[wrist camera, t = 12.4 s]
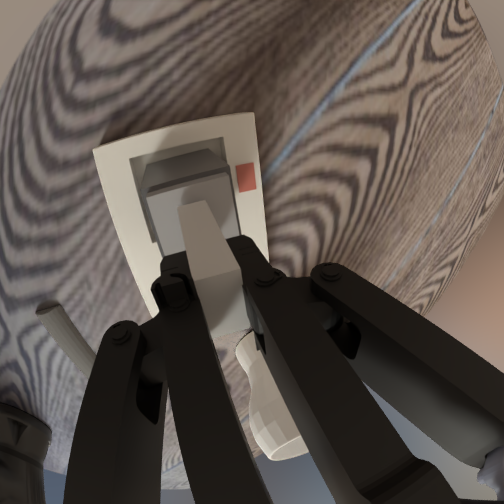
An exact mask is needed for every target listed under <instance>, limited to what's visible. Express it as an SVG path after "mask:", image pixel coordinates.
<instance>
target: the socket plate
mask: <svg viewBox="0 0 504 504" xmlns="http://www.w3.org/2000/svg"><path fill="white" fill-rule="evenodd" d="M206 148H209V149H210V150H211V151H212V152H214V153H215V154H216V155H217V156H218V157H220V158H221V159H222V160H223V161H225V162H226V163H227V164H228V165H230V170H231V176H232V182H233V187H234V193H235V199H236V205H237V211H238V216H239V222H240V228H241V233H242V235H243V234H244V235H246V236H248V237H250V238H252V239H253V241H254V242H255V244H256V246H257V247H258V248H259V249H260V251H261V252H262V254H263V255H264V257H265V258H266V259H267V261H268V262H269V256H268V245H267V234H266V223H265V213H264V203H263V193H262V183H261V173H260V164H259V154H258V145H257V136H256V127H255V118H254V112H241V113H234V114H227V115H221V116H215V117H209V118H203V119H198V120H193V121H188V122H183V123H178V124H174V125H169V126H165V127H161V128H157V129H153V130H149V131H145V132H142V133H138V134H135V135H131V136H128V137H124V138H121V139H118V140H115V141H112V142H109V143H106V144H103V145H100V146H98V147H96V148H94V149H93V154H94V158H95V162H96V166H97V170H98V174H99V177H100V181H101V184H102V188H103V191H104V195H105V198H106V201H107V204H108V207H109V211H110V214H111V217H112V220H113V223H114V225H115V228H116V231H117V234H118V237H119V240H120V242H121V245H122V248H123V250H124V253H125V256H126V258H127V261H128V263H129V266H130V268H131V271H132V273H133V276H134V278H135V280H136V283H137V285H138V287H139V290H140V292H141V294H142V296H143V299H144V301H145V303H146V305H147V307H148V310H149V312H150V314H151V316H152V318H154V317H155V316H156V315H157V314H158V312H159V309H158V306H157V304H156V302H155V299H154V297H153V295H152V292H151V290H150V289H151V285H152V283H153V282H154V281H155V280H156V279H157V278H158V277H160V276H161V274H160V273H161V272H160V263H161V261H162V256H161V253H160V250H159V247H158V244H157V242H156V239H155V236H154V233H153V230H152V227H151V224H150V221H149V217H148V214H147V211H146V208H145V205H144V201H143V198H142V195H141V191H140V188H141V184H142V180H143V176H144V172H145V168H146V164H150V163H153V162H157V161H160V160H163V159H167V158H171V157H174V156H178V155H182V154H186V153H190V152H194V151H198V150H202V149H206Z"/></svg>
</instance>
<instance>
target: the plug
mask: <svg viewBox="0 0 504 504" xmlns="http://www.w3.org/2000/svg"><path fill="white" fill-rule="evenodd" d="M140 191H141V195H142V198H143V201H144V205H145V208H146V211H147V214H148V217H149V221H150V224H151V227H152V230H153V233H154V236H155V239H156V242H157V244H158V247H159V250H160V253H161V256H162V259H163V257H164V256H167V255H170V254H174V253H178V252H182V251H185V250H186V249H185V244H184V239H183V235H182V230H181V225H180V220H179V215H178V209H177V207H179V206H182V205H186V204H190V203H194V202H198V201H203V200H206V202H207V204H208V206H209V208H210V210H211V212H212V214H213V216H214V218H215V220H216V222H217V224H218V226H219V228H220V230H221V232H222V234H223V236H224V238H225V239H228V238H231V237H235V236H239V235H242V233H241V228H240V222H239V216H238V211H237V205H236V199H235V193H234V187H233V182H232V176H231V170H230V165H228V164H227V163H226V162H225V161H223V160H222V159H221V158H220V157H218V156H217V155H216V154H215V153H214V152H212V151H211V150H210V149H209V148H206V149H202V150H198V151H194V152H190V153H186V154H182V155H178V156H174V157H171V158H167V159H163V160H160V161H157V162H153V163H150V164H146V168H145V172H144V176H143V180H142V184H141V188H140Z"/></svg>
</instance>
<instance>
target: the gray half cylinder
mask: <svg viewBox="0 0 504 504" xmlns="http://www.w3.org/2000/svg"><path fill="white" fill-rule="evenodd" d="M36 315H37V316H38V318H39V319H40V321H41V322H42V324H43V325H44V326H45V328H46V329H47V330H48V332H49V333H50V334H51V336H52V337H53V338H54V340H55V341H56V342H57V344H58V345H59V346H60V347H61V349H62V350H63V351H64V352H65V353H66V355H67V356H68V357H69V358H70V359H71V361H72V362H73V363H74V364H75V365H76V366H77V367H78V369H79V370H80V371H81V372H82V373H83V374H84V375H85V376H86V377H87V378H88V379H89V377H90V374H91V371H92V367H93V364H94V361H95V358H96V355H95V353H94V352H93V351H92V349H91V348H90V347H89V345H88V344H87V343H86V341H85V340H84V339H83V337H82V336H81V335H80V333H79V332H78V330H77V329H76V327H75V326H74V325H73V323H72V322H71V320H70V319H69V317H68V316H67V314H66V313H65V311H64V310H63V308H62V306H61V305H60V306H59V305H58V306H54V307H51V308H48V309H44V310H41V311H38V312H36Z"/></svg>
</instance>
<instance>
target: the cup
mask: <svg viewBox="0 0 504 504" xmlns="http://www.w3.org/2000/svg"><path fill="white" fill-rule="evenodd" d="M236 357H237V359H238V361H239V362H240V364H241V366H242V367H243V369H244V370H245V372H246V373H247V375H248V377H249V382H250V386H251V396H250V402H249V420H250V427H251V430H252V432H253V435H254V438H255V440H256V442H257V444H258V445H259V446H260V448H261V449H262V450H263V451H264V453H265V454H266V455H267V457H268V458H269V459H271V460H284V459H288V458H293V457H296V456H299V455H302V454H305V453H307V452H309V450H308V448H307V446H306V444H305V442H304V440H303V438H302V436H301V434H300V432H299V430H298V428H297V426H296V424H295V422H294V420H293V418H292V416H291V414H290V412H289V410H288V408H287V406H286V404H285V402H284V400H283V398H282V396H281V394H280V392H279V390H278V387H277V385H276V383H275V381H274V379H273V377H272V375H271V373H270V370H269V368H268V366H267V364H266V362H265V360H264V358H263V355H262V353H261V351H260V350H258V351H257V349H256V343H255V337H254V331H252V332H251V333H249V334H248V335H246V336H245V337H244V338H243V339H242V340H241V341H240V342H239V344H238V345H237V348H236Z"/></svg>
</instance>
